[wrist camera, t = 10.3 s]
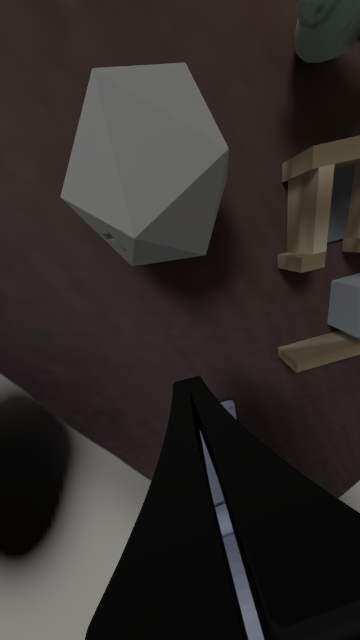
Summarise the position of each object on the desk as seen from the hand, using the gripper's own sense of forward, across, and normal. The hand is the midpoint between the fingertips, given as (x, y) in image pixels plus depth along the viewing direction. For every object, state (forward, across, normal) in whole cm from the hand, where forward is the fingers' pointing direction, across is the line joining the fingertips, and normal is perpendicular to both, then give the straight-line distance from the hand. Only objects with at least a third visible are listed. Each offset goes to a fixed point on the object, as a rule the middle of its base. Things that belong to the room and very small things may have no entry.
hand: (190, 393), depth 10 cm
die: (+10, -1, -10) cm, 14 cm away
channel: (+9, -15, -1) cm, 18 cm away
